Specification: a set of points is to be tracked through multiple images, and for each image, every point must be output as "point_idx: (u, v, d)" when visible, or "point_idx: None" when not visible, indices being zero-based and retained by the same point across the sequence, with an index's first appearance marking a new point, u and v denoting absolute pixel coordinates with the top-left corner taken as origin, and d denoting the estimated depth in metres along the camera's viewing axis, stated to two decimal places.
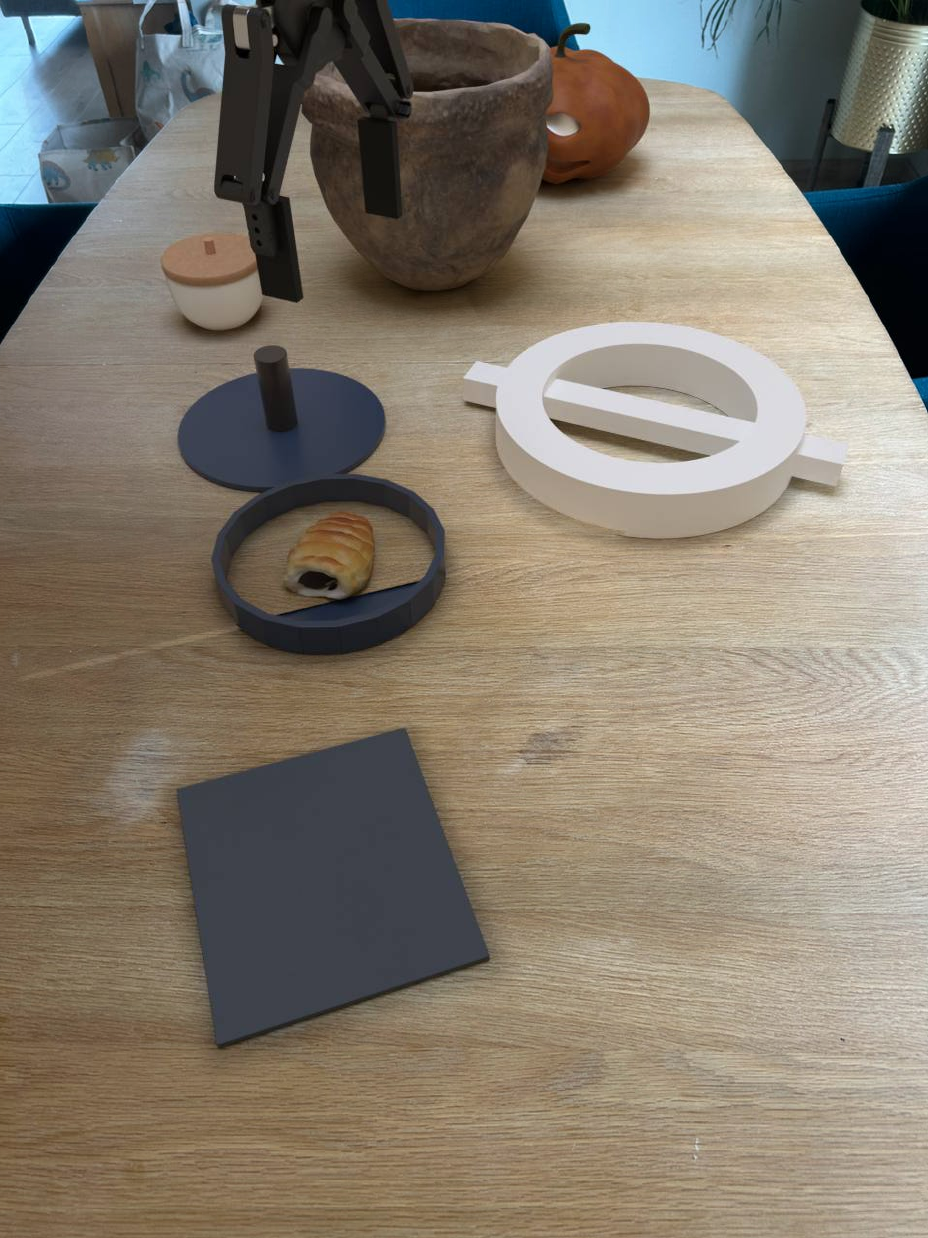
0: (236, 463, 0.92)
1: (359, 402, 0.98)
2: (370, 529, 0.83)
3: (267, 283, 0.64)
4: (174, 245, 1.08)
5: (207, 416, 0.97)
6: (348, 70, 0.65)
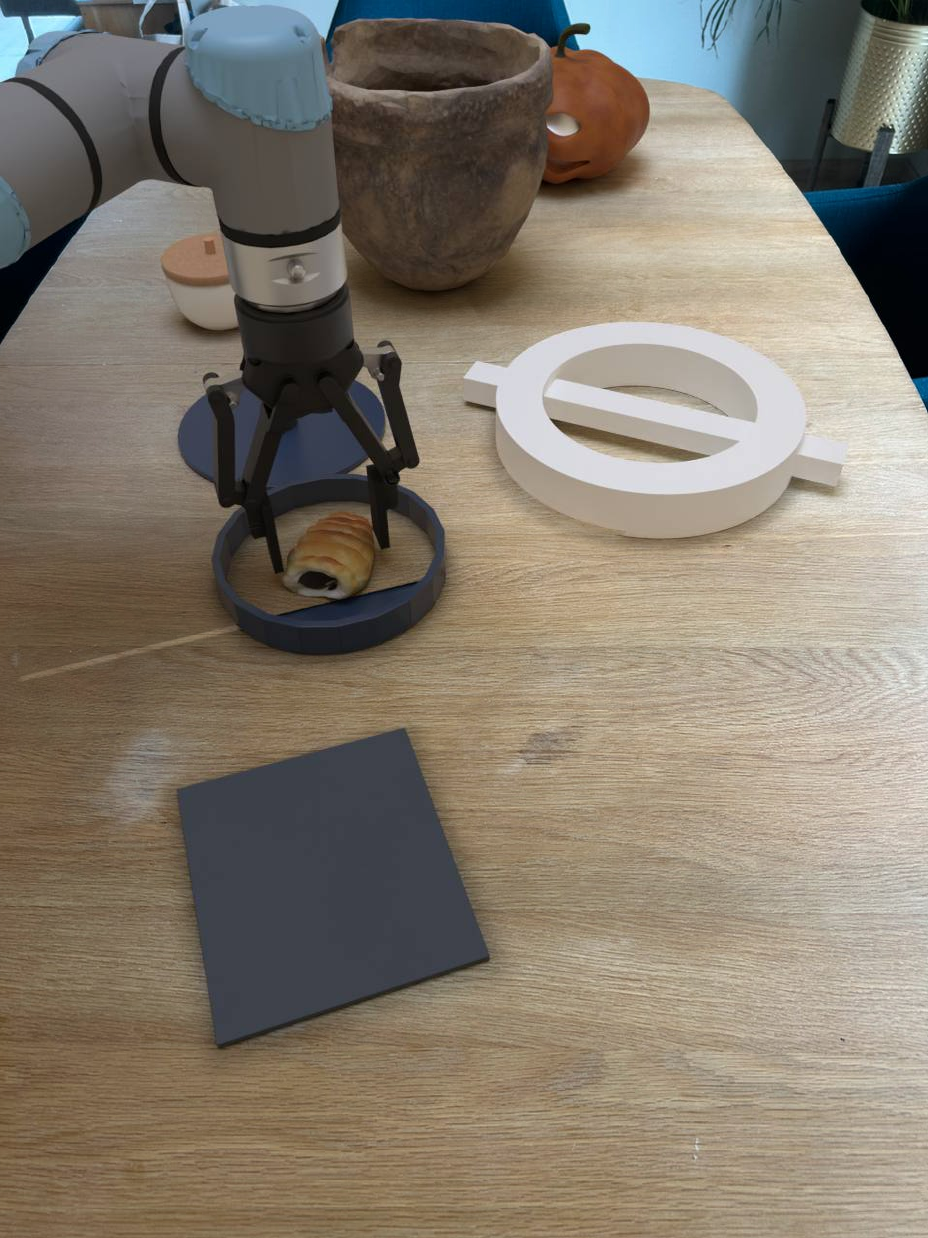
0: (236, 463, 0.92)
1: (359, 402, 0.98)
2: (370, 529, 0.83)
3: (268, 548, 0.80)
4: (174, 245, 1.08)
5: (207, 416, 0.97)
6: None
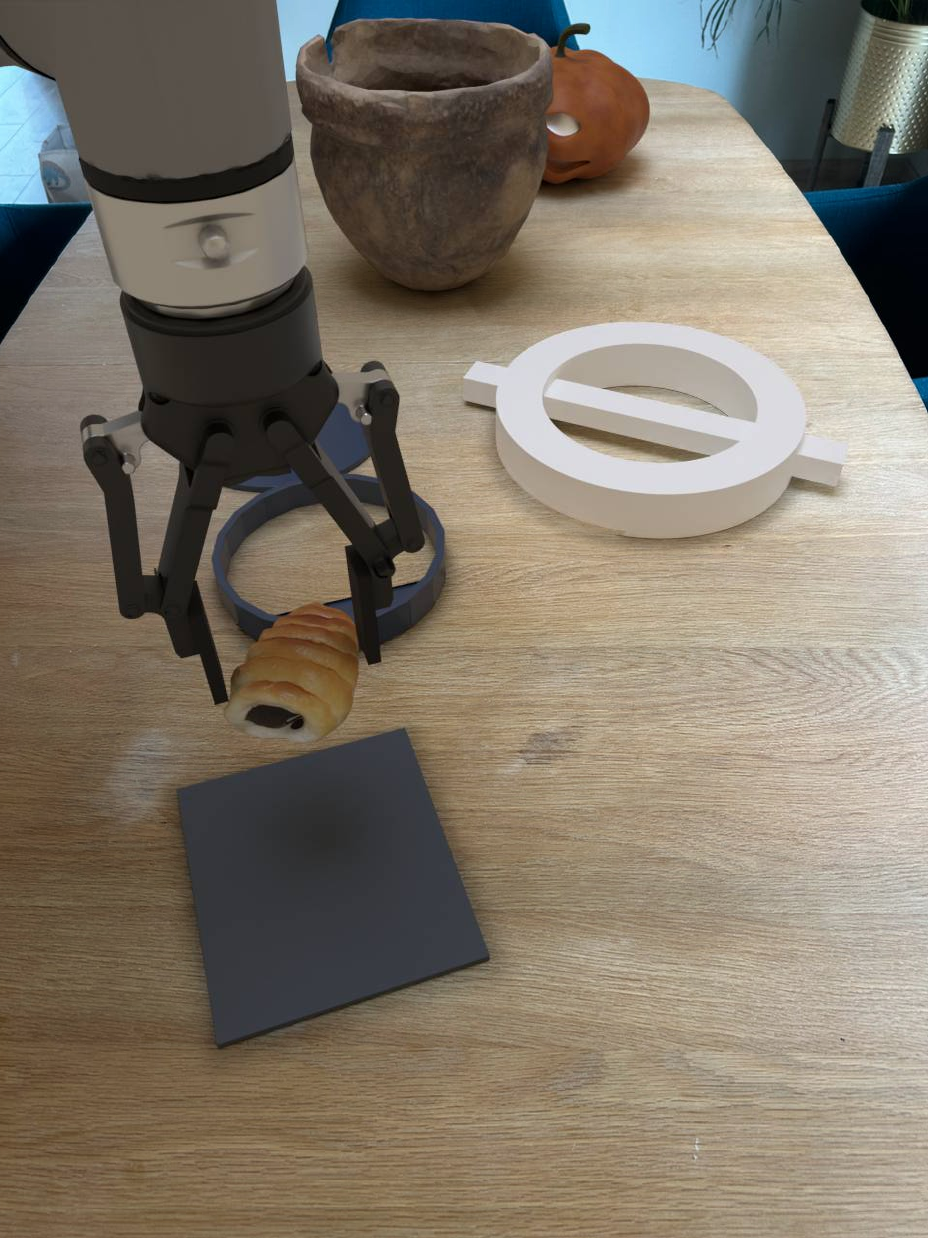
0: None
1: None
2: (353, 631, 0.57)
3: None
4: None
5: None
6: None
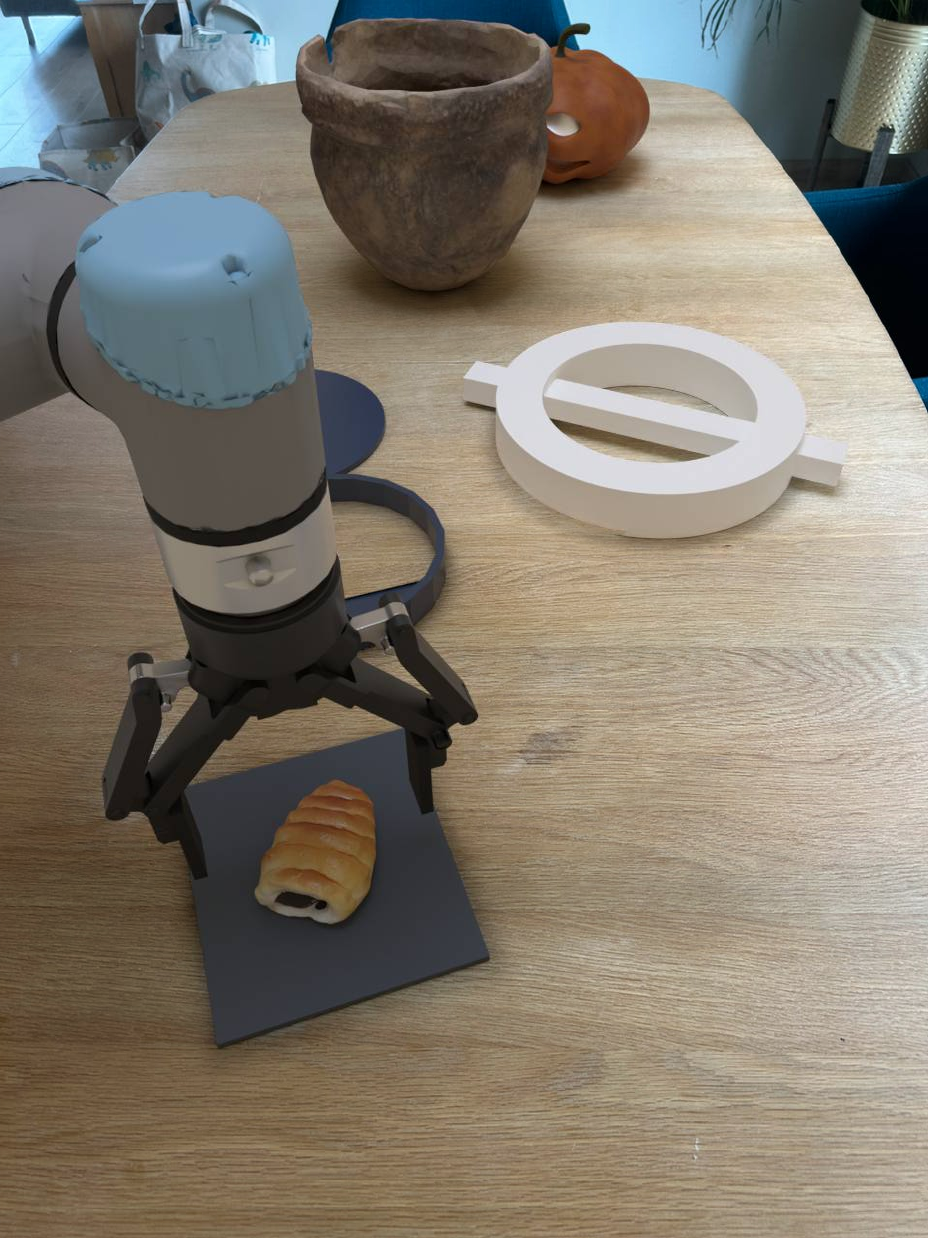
0: None
1: (359, 402, 0.98)
2: (370, 811, 0.64)
3: None
4: None
5: None
6: None
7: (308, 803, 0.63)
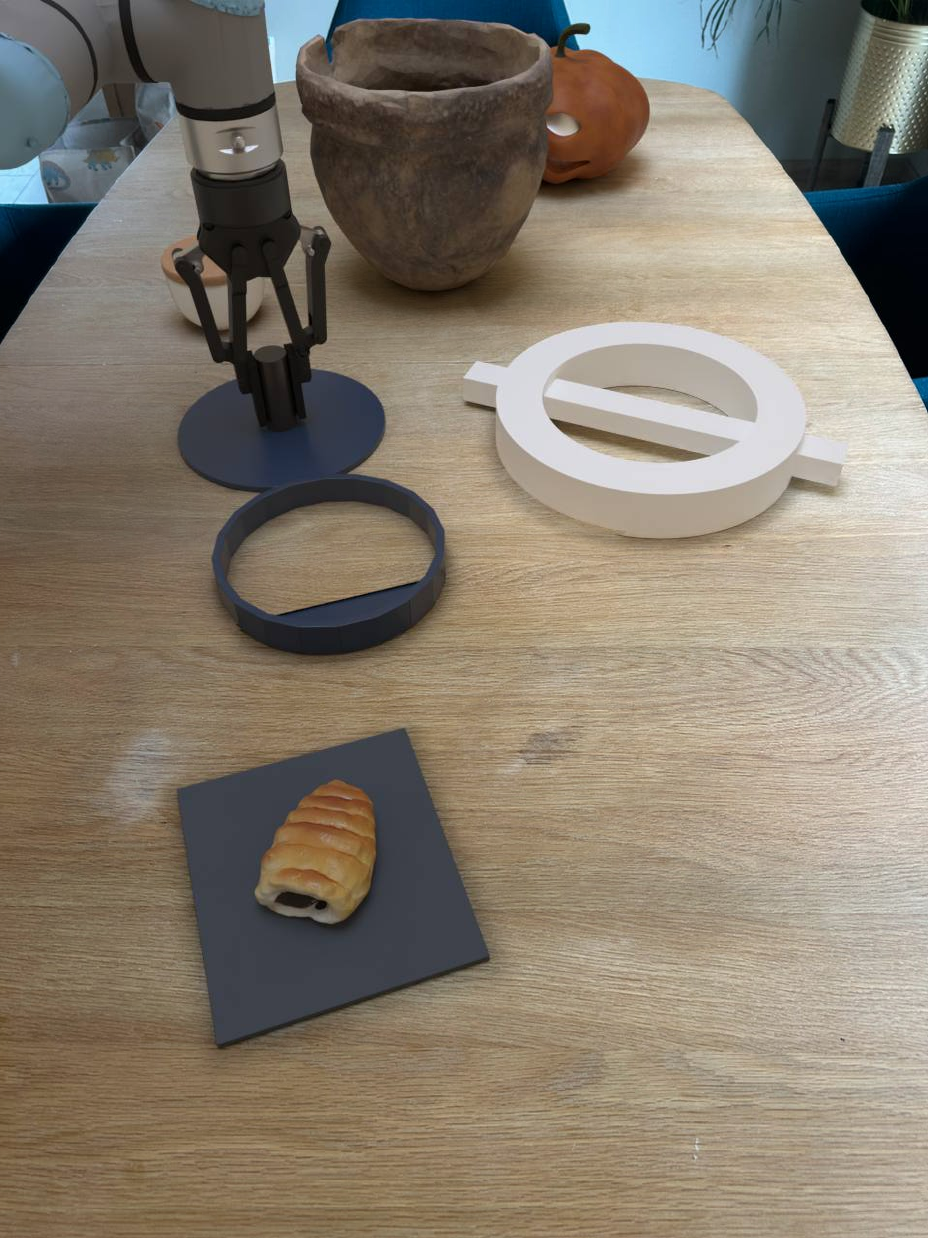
0: (236, 463, 0.92)
1: (359, 402, 0.98)
2: (370, 811, 0.64)
3: (254, 407, 0.95)
4: (174, 245, 1.08)
5: (207, 416, 0.97)
6: None
7: (308, 803, 0.63)
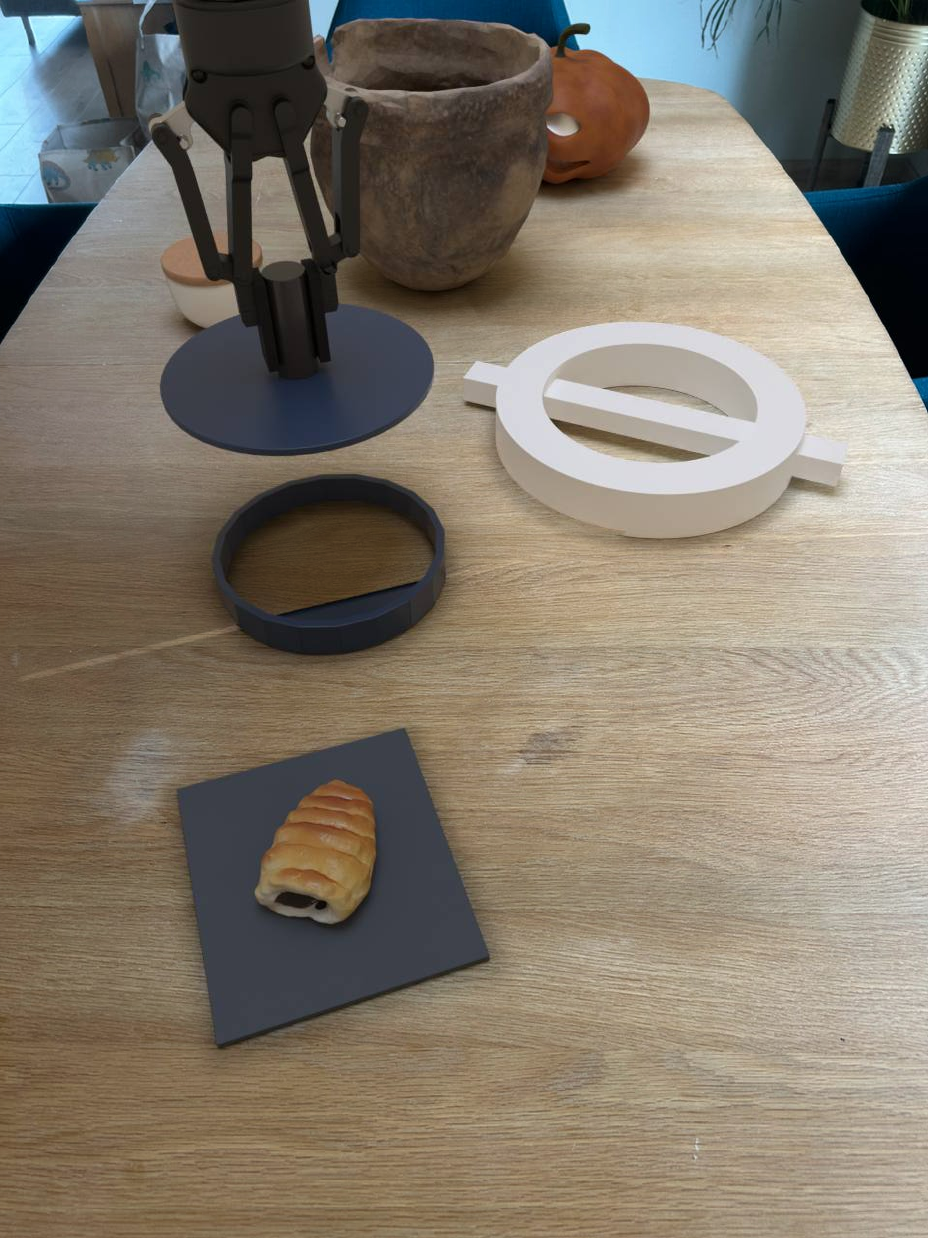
0: (238, 419, 0.68)
1: (398, 342, 0.75)
2: (370, 811, 0.64)
3: (261, 346, 0.71)
4: (174, 245, 1.08)
5: (199, 361, 0.74)
6: (292, 189, 0.64)
7: (308, 803, 0.63)
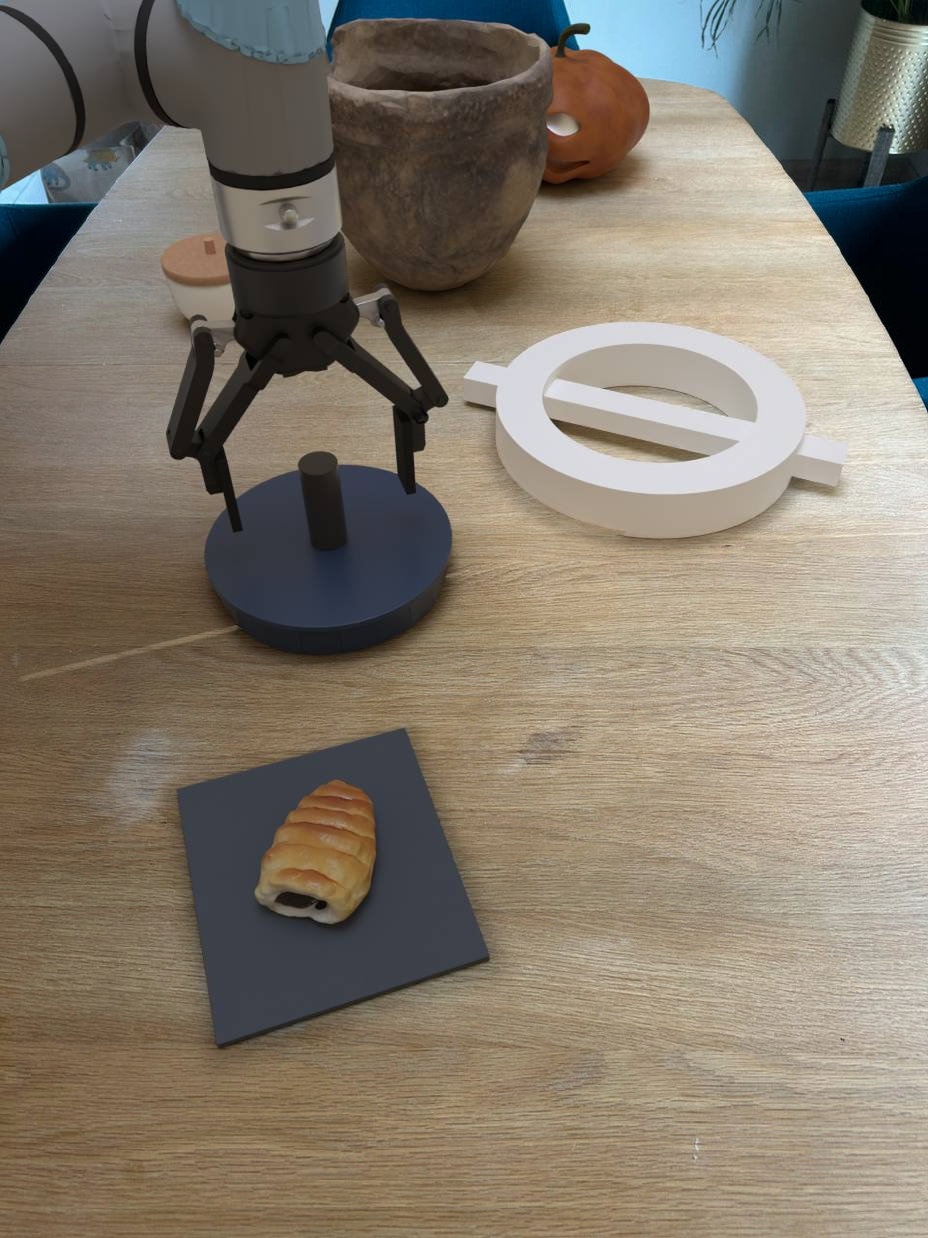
0: (276, 594, 0.76)
1: (419, 510, 0.82)
2: (370, 811, 0.64)
3: (226, 506, 0.76)
4: (174, 245, 1.08)
5: None
6: None
7: (308, 803, 0.63)
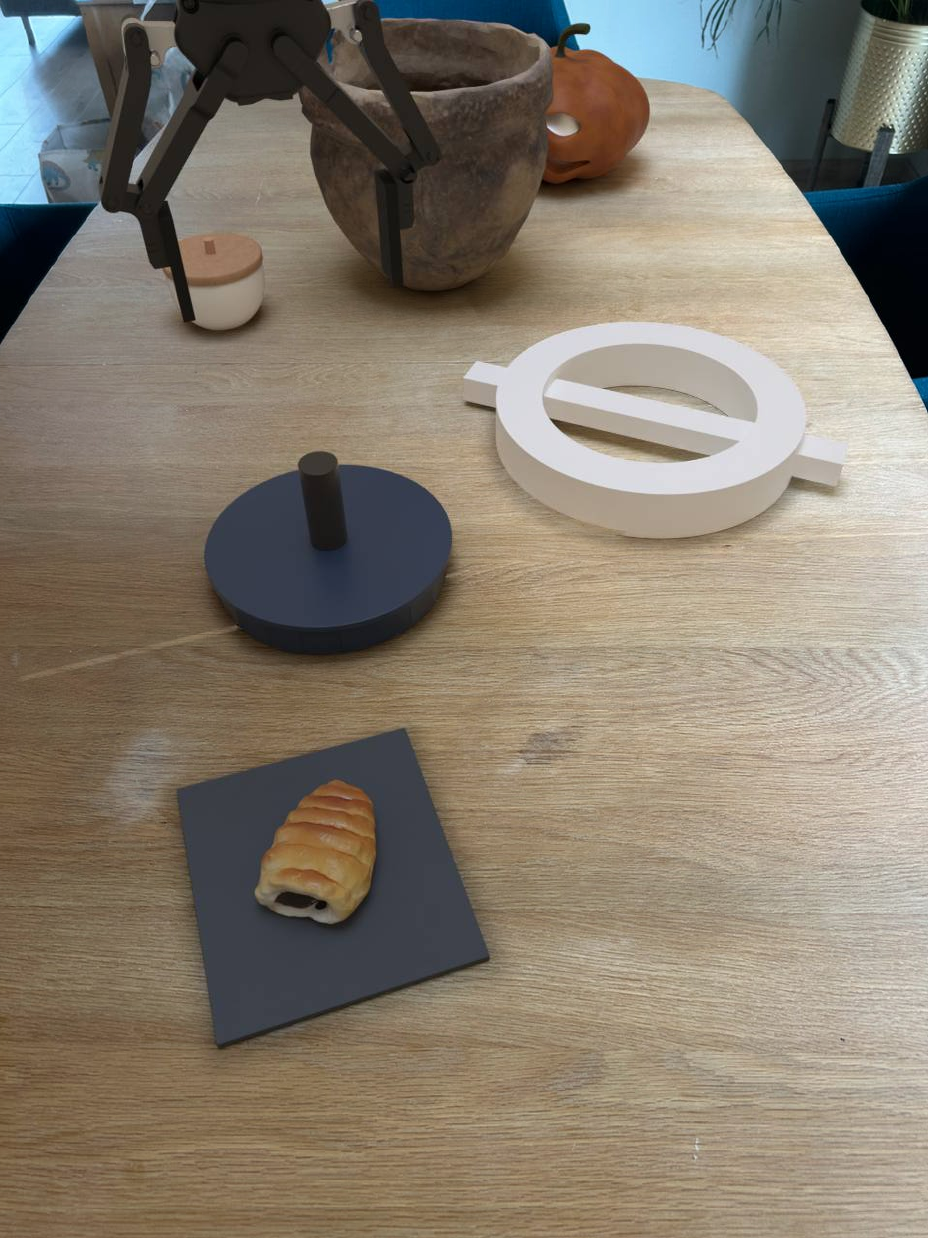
0: (276, 594, 0.76)
1: (419, 510, 0.82)
2: (370, 811, 0.64)
3: (176, 293, 0.63)
4: None
5: (239, 529, 0.81)
6: None
7: (308, 803, 0.63)
